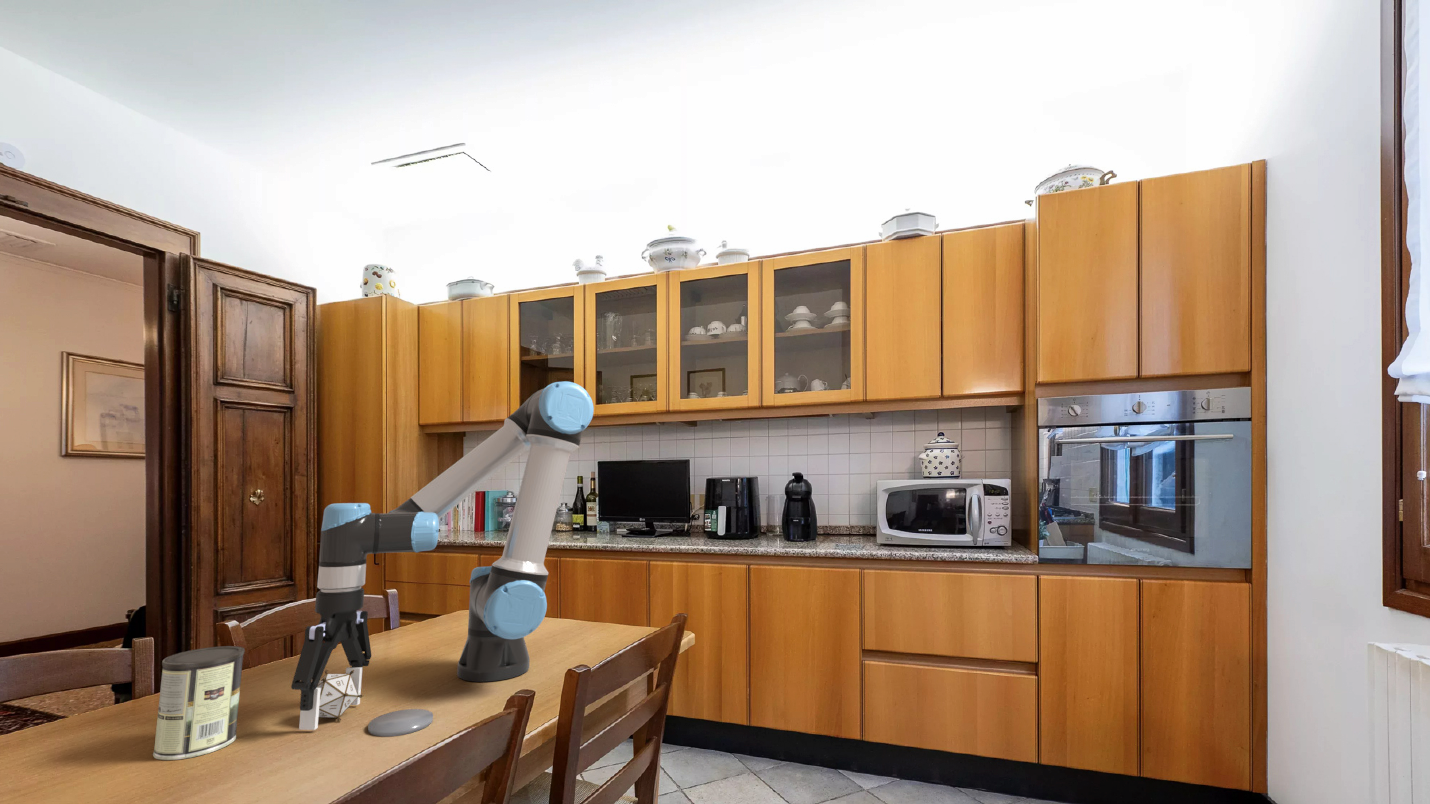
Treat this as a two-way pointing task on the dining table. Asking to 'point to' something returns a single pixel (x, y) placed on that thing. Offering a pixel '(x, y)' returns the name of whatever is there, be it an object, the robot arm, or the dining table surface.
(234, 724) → the coffee can
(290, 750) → the dining table surface
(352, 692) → the game die
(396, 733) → the slate coaster
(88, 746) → the dining table surface
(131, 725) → the dining table surface
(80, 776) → the dining table surface
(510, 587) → the robot arm
